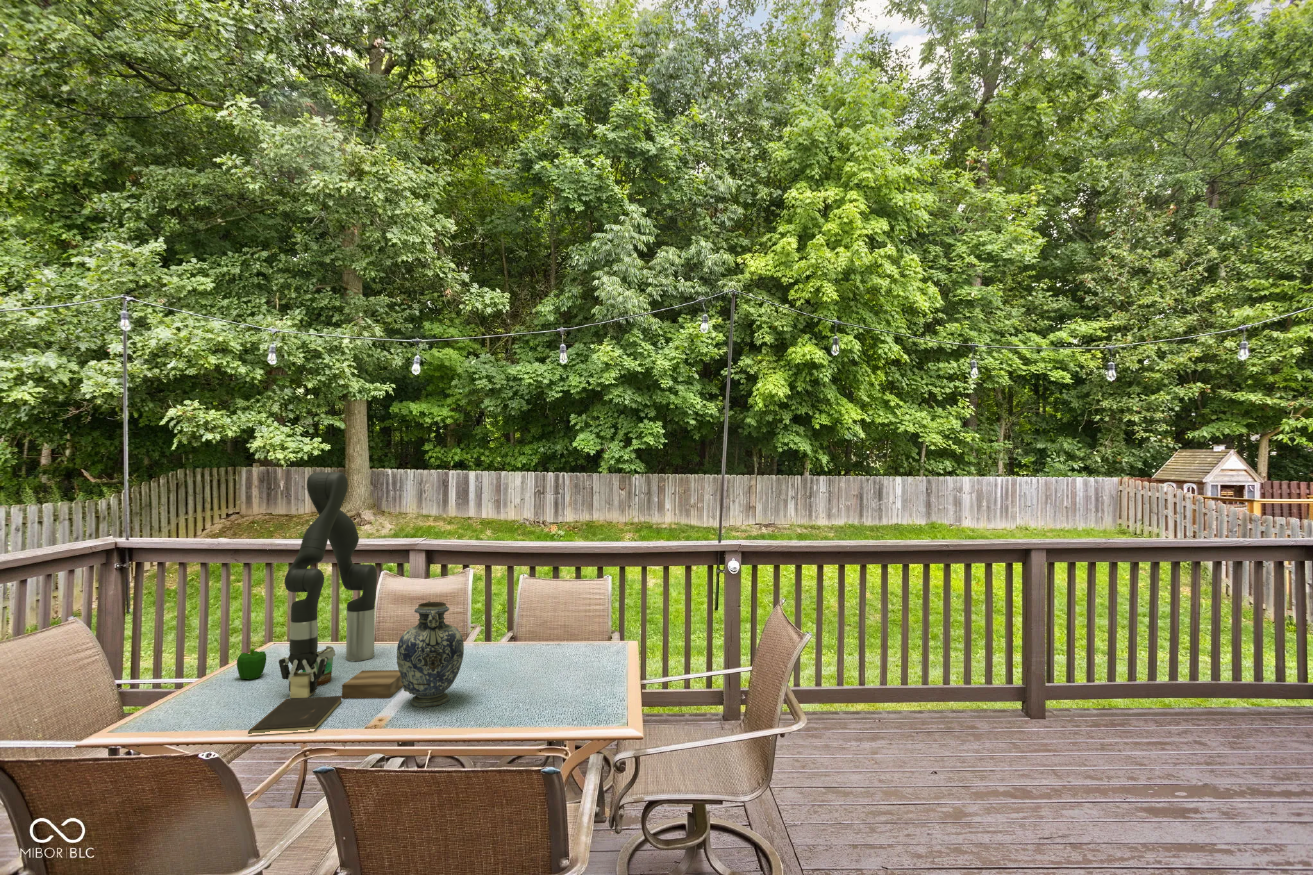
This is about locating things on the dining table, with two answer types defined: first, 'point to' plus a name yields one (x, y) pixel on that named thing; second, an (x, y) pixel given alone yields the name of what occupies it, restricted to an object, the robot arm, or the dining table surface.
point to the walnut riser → (372, 684)
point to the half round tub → (330, 654)
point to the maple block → (300, 685)
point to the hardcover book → (297, 714)
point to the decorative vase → (430, 656)
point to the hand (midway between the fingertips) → (302, 692)
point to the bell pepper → (251, 664)
